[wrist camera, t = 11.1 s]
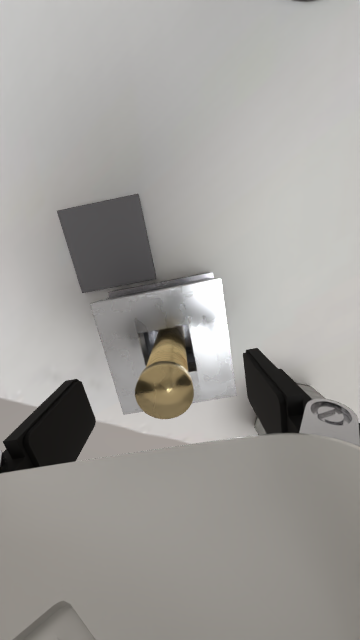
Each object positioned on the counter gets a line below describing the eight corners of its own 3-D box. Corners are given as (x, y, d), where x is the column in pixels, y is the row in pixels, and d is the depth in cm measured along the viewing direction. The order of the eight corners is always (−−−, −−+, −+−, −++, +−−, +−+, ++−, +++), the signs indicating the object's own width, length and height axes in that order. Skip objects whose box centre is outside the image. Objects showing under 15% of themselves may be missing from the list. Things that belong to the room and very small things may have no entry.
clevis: (112, 291, 23) (82, 299, 15) (210, 272, 22) (226, 271, 15) (136, 378, 25) (119, 419, 18) (223, 363, 25) (242, 399, 18)
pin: (154, 321, 22) (128, 372, 10) (182, 316, 22) (188, 362, 10) (160, 347, 23) (142, 423, 11) (187, 342, 23) (198, 413, 11)
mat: (59, 211, 21) (56, 210, 20) (138, 195, 20) (138, 193, 20) (84, 292, 23) (82, 292, 22) (156, 278, 22) (156, 278, 22)
